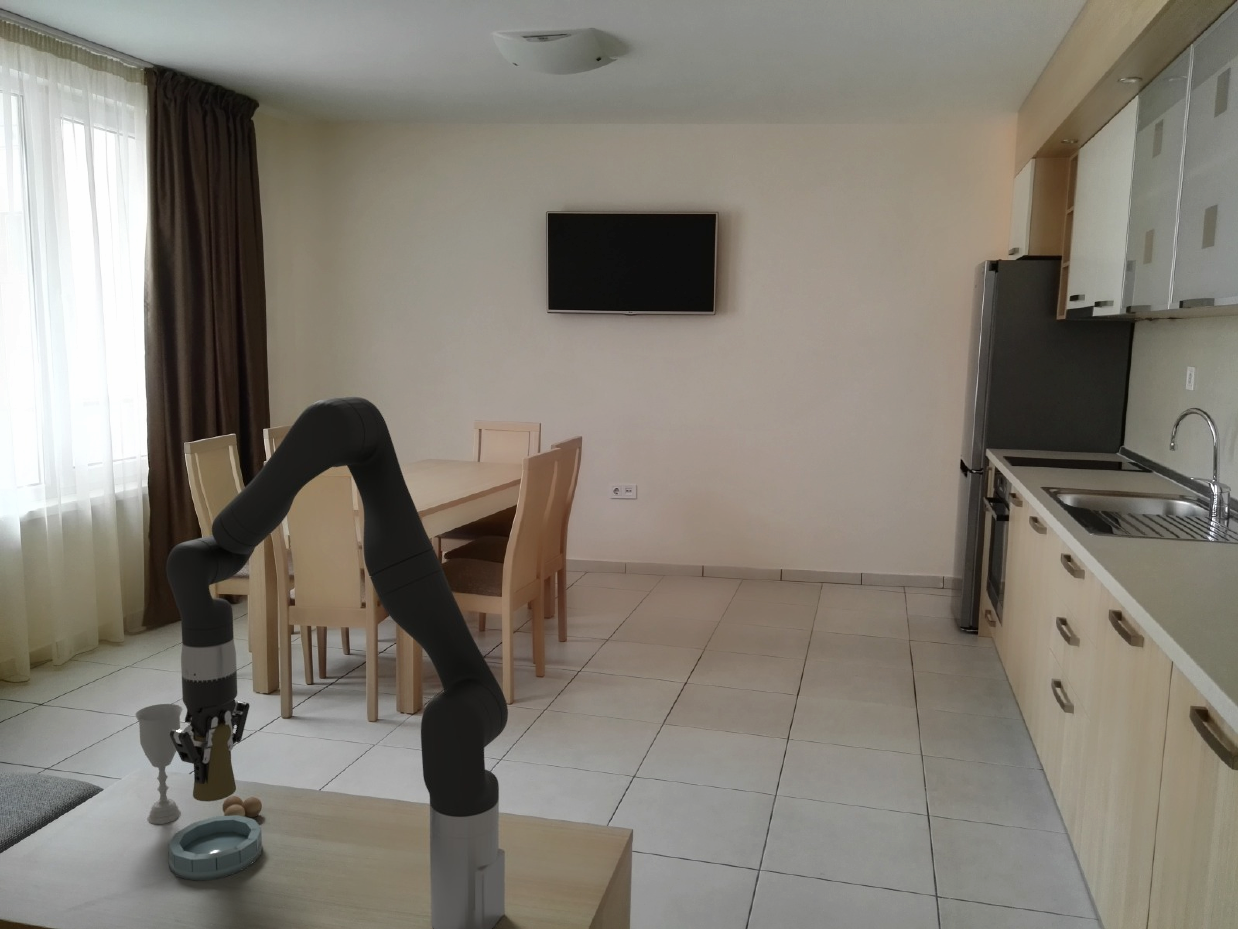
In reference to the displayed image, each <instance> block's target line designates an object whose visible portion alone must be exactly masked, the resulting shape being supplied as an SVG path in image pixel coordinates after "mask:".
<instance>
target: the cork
mask: <svg viewBox="0 0 1238 929" xmlns="http://www.w3.org/2000/svg"><path fill="white" fill-rule="evenodd" d="M211 734H212V733H211ZM230 736H231V728H230V726H229V725H228V724H223V723H220V724H218V725H217V727H216V729H215V731H214V733H213V735H212V739H211V740H212V744H213V745H212V747H210V748H211V751H210V759H209V772H208V785H207V782H206V779H205V783H204V784H200V783H196V782H195V780H193V781H194V782H193V790H192V797H193V799H194V800H196V801H199V802H216V801H219V800H223V799H227V798H229V797H231V796H233V794H234V793H235V792H236V790H237V786H236V780H235V775H234V770H233V766H232V765H233V764H232V757H231V758H230V753H229V747H228V741H229V739H230ZM194 738H195V740H196V741H200V742H205V740H206V737H205V738H202V737H197V736H196V735H195V736H194ZM199 753H201V754H202V747H199Z"/></svg>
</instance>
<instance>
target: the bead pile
mask: <svg viewBox="0 0 1238 929" xmlns="http://www.w3.org/2000/svg"><path fill="white" fill-rule="evenodd" d="M262 807H263V804H262V801H261V800H260V799H259V798H258V797H255V796H251V797H248V798H245V799H244V801H243V799H241V797H239V796H238V795H237V796H236V795H230V796H229V797H226V798H225V800H224V801H223V803H222V812H223V816H233V815H237V816H238V815H239V816H243V817H247V818H251V819H253V818H255V817H257V816H258V815H260V813H261V811H262V809H263V808H262Z"/></svg>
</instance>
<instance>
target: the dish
mask: <svg viewBox="0 0 1238 929" xmlns="http://www.w3.org/2000/svg"><path fill="white" fill-rule="evenodd" d="M262 837H263V836H262V827H261V826H260V824H259V823H258V822H257V821H256V819H254V818H248V817H246V816H245V817H243V816H239V815H238V816H237V815H233V816H224V815H216V816H212V817H209V818H206V819H202V820H201V819H200V820H199V821H195V822H192V823H190V824H189V825H187V826H185V827H183V828H182V829H180V830H179V831H177V832H176V833H175V834H174V835H173V836H172V838H171V839H170V841H169V844H168V845H167V846H168V864H169V870H170V872H171V873H172V874H173V875H174V876H176V877H178V878H181V879H184V880H191V881H210V879H211V880H216V878H217V879H221V878H224V877H223V876H225V877H228V875H229V876H230V874H231V875H233V874H232V873H234V874H236V872H237V873H239V872H241V871H242V870H241V869H243V870H245V869H246V867H247V866H248V867H249V865H250V864H251V863H252V862H254V861H255V860H256V859H257V858H258V859H259V857H260V856H261V854H262V852H261V851H263V844H262V842H263V841H262ZM259 855H260V856H259ZM258 856H259V857H258ZM258 859H257V860H258ZM257 860H256V861H257ZM256 861H255V862H256ZM255 862H254V863H255ZM252 864H253V863H252ZM252 864H251V865H252ZM251 865H250V866H251ZM248 867H247V868H248ZM244 868H245V869H244ZM240 870H241V871H240ZM238 871H239V872H238ZM220 877H221V878H220Z"/></svg>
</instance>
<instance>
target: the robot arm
mask: <svg viewBox="0 0 1238 929" xmlns="http://www.w3.org/2000/svg"><path fill="white" fill-rule="evenodd" d="M345 466H347V468H348V470H349V472H350V475H351V476H352V478H353V481H354V483H355V486H356V488H357V490H358V493H359V496H360V499H361V503H362V509H363V538H362V539H363V543H362V544H363V557H364V558H363V559H364V564H365V567H366V572H367V573H368V576H369V578H370V580H371V583H372V585H373V588H374V590H375V592H376V594H377V597H378V599H379V601H380V603H381V605H382V607H383V609H384V610H385V612H386V613H387V615H389V617H390V618H391V619H392V620H393V622H395V623H396V624H397V625H398V627H400V628H401V630H403V631H405V633H407V635H409V636H410V637H411V638H412V639H413V640H414V641H415V642H416V643H417V644H418V645H419V646H420V647H421V648H422V649H423V651H425V652H426V654H427V656H428V657H429V659H430V660H431V662H432V664H433V667H434V669H435V670H436V672H437V676H438V678H439V681H440V683H441V684H442V685H441V686H442V689H443V691H442V692H441V693H440V694H438V695H436V696H435V697H434V698H432V699H431V700H430V701H429V702H428V703H427V704H426V706H425V708H424V710H423V713H422V716H421V722H420V742H421V743H420V744H421V745H420V746H421V747H420V748H421V761H422V762H421V764H422V776H423V781H424V785H425V788H426V790H427V792H428V794H429V845H430V846H429V848H430V849H429V851H430V852H429V853H430V854H429V859H430V860H429V861H430V862H429V864H430V865H429V868H430V870H429V871H430V872H429V873H430V874H429V876H430V879H429V880H430V924H431V926H432V928H433V929H493V928H494V927H496V926H495V925H497V923H498V922H499V921H500V920H501V919H502V917H503V916H504V915H505V912H506V911H505V910H506V908H505V906H506V905H505V904H506V902H505V900H506V899H505V898H506V897H505V896H506V895H505V894H506V892H505V891H506V887H505V886H506V885H505V884H506V882H505V878H506V877H505V876H506V875H505V874H506V873H505V872H506V871H505V870H506V869H505V868H506V862H505V861H506V860H505V859H506V854H505V853H506V852H505V850H504V849H502V848H499V844H500V839H499V838H500V837H499V836H500V834H499V833H500V831H499V826H500V824H499V818H500V810H499V805H500V802H499V801H500V795H499V794H500V790H499V789H500V785H499V780H498V777H497V776H496V774H494V773H493V772H492V771H490V770H488V769H486V765H485V748H486V747H487V746H488V745H490V743H492V742H493V741H494V740H495V739H497V737H498V736H500V735H501V734H502V733H503V732H504V730H505V728H506V726H507V723H508V717H509V708H508V704H507V700H506V697H505V694H504V693H503V690H502V688H501V686H500V685H499V682H498V680H497V679H496V677H495V675H494V673H493V671H492V670H491V668H490V666H489V664H488V663H487V661H486V660H485V657H484V656H483V654H482V652H481V650H480V648H479V647H478V645H477V643H476V641H475V640H474V637H473V635H472V633H471V631H470V629H469V626H468V625H467V622H466V619H465V618H464V615H463V614H462V611H461V609H460V606H459V605H458V603H457V602H458V601H457V600H456V598H455V596H454V593H453V591H452V589H451V586H450V585H449V582H448V580H447V576H446V574H445V571H444V569H443V566H442V565H441V562H440V560H439V557H438V555H437V552H436V551H435V550H436V549H434V546H433V543H432V542H431V540H430V538H429V536H428V533H427V531H426V529H425V527H424V525H423V522H422V519H421V517H420V515H419V514H420V513H418V512H419V511H418V510H417V507H416V504H415V502H414V500H413V498H412V496H411V493H410V491H409V488H408V485H407V483H406V481H405V477H404V475H403V472H402V469H401V466H400V462H399V459H398V456H397V452H396V450H395V446H394V443H393V440H392V436H391V434H390V431H389V428H388V424H387V423H386V420H385V418H384V416H383V414H382V413H381V411H380V409H379V408H378V407H377V405H375V404H374V403H372V402H371V401H370V400H368V399H366V398H363V397H358V396H347V397H337V398H336V397H334V398H333V397H332V398H325V399H319V400H317V401H315V402H313V403H311V404H309V405H308V406H306V408H305V409H304V410H302V412H301V413H300V415H299V416H298V417H297V419H296V420H295V421H294V423H293V424H292V426H291V428H289V430H288V431H287V433H286V434H285V436H284V438H283V439H282V441H281V442H280V444H279V445H278V446H277V447H276V449H275V450H274V451H273V453H272V455H271V456H270V457H269V459H268V460H267V462H266V463H265V464H264V466H262V468H261V469H260V471H259V472H258V473H257V474H256V475H255V477H253V478H252V480H251V481H250V482H249V483H248V484H247V485H246V486H245V487H244V488H243V489H242V490H241V491H240V492H239V493H238V494H237V495H236V496H235V497H234V498H233V499H232V500H231V501H230V502H229V503H228V504H227V505H226V506H225V507H224V508H223V509H221V511H220V512H218V514H217V515H216V517H215V518H214V520H213V522H212V525H211V534H210V535H208V536H203V537H199V538H195V539H191V540H188V541H187V540H186V541H184V542H181V543H179V544H176V545H175V546H174V547H173V548H172V549H171V550H170V553H169V554H168V556H167V561H166V566H165V567H166V569H165V570H166V578H167V580H168V584H169V586H170V590H171V592H172V595H173V598H174V600H175V604H176V606H177V609H178V611H179V615H180V626H181V654H180V668H181V689H182V690H181V692H182V702H183V704H184V706H185V708H186V715H185V718H184V724H182V725H180V728H179V729H178V730H176V729H173V730H172V731H171V732H170V737H171V740H172V742H173V744H174V746H175V748H176V750H177V751H176V753H177V754H178V757H179V758H180V760H181V762H184V763H187V764H188V763H189V764H193V773H194V774H193V779H194V780H195V782H196V783H200V784H204V783H205V779H206V782H207V785H208V772H209V759H210V751H211V748H210V747H212V745H213V744H212V740H211V739H212V735H213V733H214V731H215V729H216V727H217V725H218V724H220V723H223V724H228V725H229V726H230V728H231V736H230V739H229V741H228V747H229V753H230V758H231V759H232V750H233V749H234V745H235V744H236V743H240V742H241V741H242V739H243V734H244V730H245V727H246V726H245V725H246V723H247V719H248V715H249V710H250V706H251V705H250V703H248V702H244V701H241V700H235V699H236V698H237V696H238V672H237V671H238V670H237V653H236V652H237V651H236V646H235V638H234V616H233V615H234V614H233V606H232V604H231V602H229V601H228V600H227V599H225V598H220V597H212V595H211V594H212V593H211V590H210V585H211V586H212V585H214V584H217V583H220V582H224V581H227V580H229V579H231V578H232V577H234V576H235V575H236V574H238V573H240V571H241V570H242V569H243V568H244V567H245V565H246V564H247V563H248V561H249V559H250V558H251V557H252V555H253V553H254V552H255V549H256V547H257V546H259V545H260V544H261V543H262V542H263V541H264V540H265V539H266V538H267V537H268V536H270V534H272V532H274V531H275V530H276V529H277V528H278V527H279V526H280V525H281V524H282V522H283V521H284V520H285V518H286V517H287V516H288V513H289V512H290V510H291V508H292V505H293V502H294V500H295V498H296V496H297V495H298V493H299V492H300V491H301V490H302V489H303V487H305V486H306V485H307V484H308V483H309V482H311V481H312V480H313V479H316V477H319V475H321V474H323V473H325V472H326V471H329V469H331V468H339V467H345ZM235 726H236V728H235ZM234 728H235V732H234ZM211 733H212V734H211ZM195 735H196V736H197V737H202V738H205V737H206V740H205V742H200V741H196V740H195V738H194V736H195ZM199 747H202V754H201V753H199ZM194 780H193V781H194Z"/></svg>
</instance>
